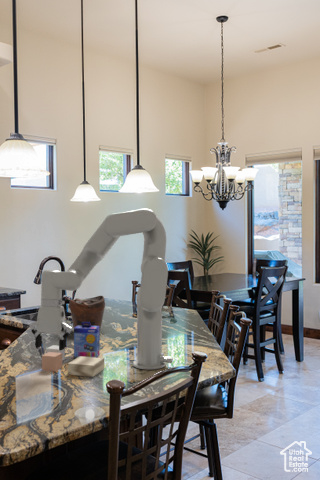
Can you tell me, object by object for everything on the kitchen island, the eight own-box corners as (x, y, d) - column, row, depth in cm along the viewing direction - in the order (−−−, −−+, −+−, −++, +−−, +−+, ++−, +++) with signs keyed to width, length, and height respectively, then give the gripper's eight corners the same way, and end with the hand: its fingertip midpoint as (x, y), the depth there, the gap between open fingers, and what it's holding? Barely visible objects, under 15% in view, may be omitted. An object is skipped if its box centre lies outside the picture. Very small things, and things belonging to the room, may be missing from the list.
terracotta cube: (62, 367, 183) (62, 353, 183) (55, 371, 178) (55, 356, 177) (49, 366, 184) (49, 352, 184) (41, 370, 179) (41, 355, 179)
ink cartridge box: (73, 357, 196) (73, 322, 196) (76, 354, 202) (76, 319, 202) (97, 358, 196) (97, 322, 195) (99, 354, 201) (99, 320, 201)
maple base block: (104, 368, 180) (104, 358, 180) (93, 376, 171) (93, 365, 171) (79, 366, 183) (79, 356, 183) (67, 374, 174) (67, 363, 174)
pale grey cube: (64, 359, 194) (64, 346, 193) (58, 363, 188) (58, 349, 188) (52, 358, 195) (52, 345, 195) (45, 362, 190) (45, 348, 190)
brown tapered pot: (60, 333, 242) (60, 297, 241) (84, 326, 260) (84, 293, 259) (89, 337, 234) (89, 300, 233) (111, 330, 251) (112, 295, 251)
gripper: (76, 303, 182) (75, 348, 182) (36, 300, 186) (34, 344, 187) (67, 306, 174) (66, 353, 175) (25, 302, 179) (24, 348, 179)
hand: (50, 348), depth 181 cm, fingers open, 9 cm apart
